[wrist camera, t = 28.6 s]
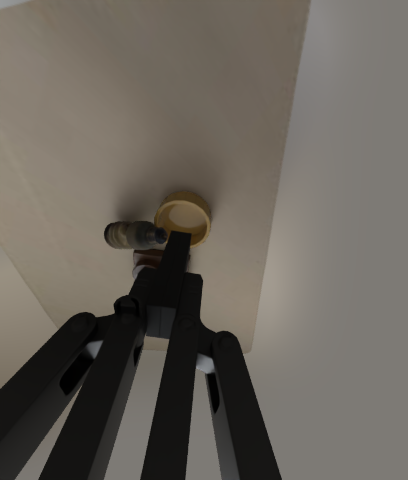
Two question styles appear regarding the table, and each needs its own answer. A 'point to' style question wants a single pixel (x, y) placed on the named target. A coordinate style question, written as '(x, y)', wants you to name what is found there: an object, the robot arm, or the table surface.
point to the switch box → (147, 260)
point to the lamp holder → (185, 216)
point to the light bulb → (134, 235)
